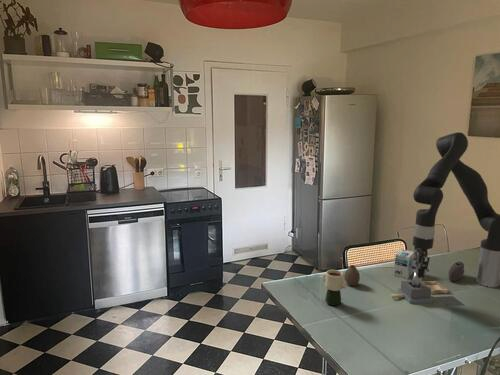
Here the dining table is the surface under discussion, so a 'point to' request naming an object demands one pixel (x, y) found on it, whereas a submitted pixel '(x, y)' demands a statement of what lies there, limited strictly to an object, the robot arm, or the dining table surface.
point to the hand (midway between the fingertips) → (419, 274)
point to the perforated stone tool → (456, 271)
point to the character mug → (334, 286)
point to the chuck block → (414, 293)
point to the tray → (436, 287)
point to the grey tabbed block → (417, 281)
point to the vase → (352, 276)
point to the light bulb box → (404, 263)
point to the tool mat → (450, 301)
